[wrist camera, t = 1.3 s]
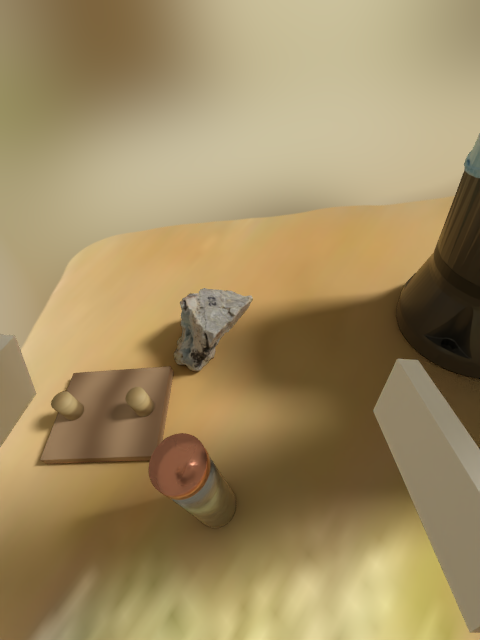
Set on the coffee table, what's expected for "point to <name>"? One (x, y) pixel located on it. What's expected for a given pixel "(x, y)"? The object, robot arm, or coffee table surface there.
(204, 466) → the pin
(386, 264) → the coffee table surface
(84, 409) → the peg rack
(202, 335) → the mineral specimen
